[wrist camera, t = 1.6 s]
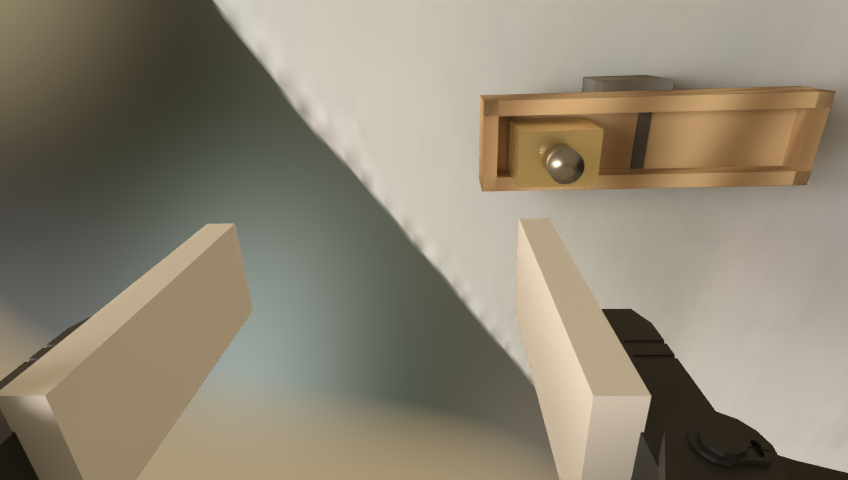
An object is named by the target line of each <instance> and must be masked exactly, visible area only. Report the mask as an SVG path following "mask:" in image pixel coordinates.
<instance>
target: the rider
mask: <svg viewBox="0 0 848 480" xmlns="http://www.w3.org/2000/svg"><path fill="white" fill-rule="evenodd" d="M603 132H604V129H602V128H600V127H598V126H597V125H595V124H593V123H592V122H590V121H588V120H586V119H585V118H583V117H581V116H578V117H540V118H509V127H508V152H507V168H508V170H509V172H510V174H511V176H512V179H513V181H514V183H515V185H516V187H566V186H597V182H598V173H599V165H600V157H601V149H602V140H603Z"/></svg>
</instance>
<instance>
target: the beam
mask: <svg viewBox="0 0 848 480" xmlns="http://www.w3.org/2000/svg"><path fill="white" fill-rule="evenodd" d="M673 85H674V81H673V80H668V79H663V78H658V77H653V76H648V75H636V76H603V77H584V78H583V89H582V92H580V93H545V94H511V95H480V143H479V180H480V184H481V188H482V191H526V190H577V189H629V188H680V187H732V186H783V185H807V183H808V180H809V176H810V173H811V170H812V167H813V163H814V160H815V157H816V154H817V150H818V147H819V144H820V141H821V137H822V134H823V131H824V128H825V124H826V121H827V118H828V115H829V111H830V108H831V105H832V102H833V98H834V95H835V92H836V91H829V90H822V89H815V88H808V87H801V86H788V87H754V88H719V89H684V90H673ZM578 116H581V117H583V118H585V119H586V120H588V121H590V122H592V123H593V124H595V125H597V126H598V127H600V128H602V129H604V132H603V140H602V149H601V157H600V165H599V173H598V182H597V186H566V187H516V185H515V183H514V181H513V179H512V176H511V174H510V172H509V170H508V168H507V152H508V127H509V118H540V117H578Z"/></svg>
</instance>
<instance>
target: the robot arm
mask: <svg viewBox="0 0 848 480" xmlns="http://www.w3.org/2000/svg"><path fill="white" fill-rule="evenodd" d="M514 308H515V312H516V316H517V320H518V324H519V327H520V331H521V335H522V339H523V343H524V346H525V350H526V354H527V358H528V361H529V365H530V369H531V373H532V377H533V380H534V384H535V388H536V392H537V395H538V399H539V403H540V407H541V411H542V414H543V418H544V422H545V426H546V429H547V433H548V437H549V441H550V445H551V449H552V452H553V456H554V460H555V464H556V467H557V471H558V475H559V479H560V480H848V473H845V472H841V471H837V470H833V469H829V468H824V467H820V466H816V465H812V464H808V463H804V462H799V461H795V460H792V459H789V458H785V457H782V456H779V455H778V454H777V453H776V451H775V449H774V447H773V446H772V445H771V444H770V443H769V442H768V441H767V440H766V439H765V438H764V437H763V436H762V435H761V434H760V433H758V432H757V431H756V430H754V429H753V428H751V427H749V426H748V425H746V424H744V423H743V422H741V421H739V420H738V419H735V418H733V417H730V416H727V415H724V414H721V413H718V412H716V411H715V410H714V408H713V407H712V406H711V404H710V403H709V401H708V400H707V399H706V397H705V396H704V395H703V393H702V392H701V390H700V389H699V388H698V386H697V385H696V384H695V382H694V381H693V379H692V378H691V377H690V375H689V374H688V373H687V371H686V370H685V368H684V367H683V366H682V364H681V363H680V362H679V360H678V359H677V358H675V357H674V353H673V352H672V351H671V349H670V348H669V346H668V345H667V344H664V340H663V338H662V337H661V335H660V334H659V333H658V331H657V330H656V329H655V327H654V326H653V324H652V323H651V322H649V321H648V320H646V319H645V318H643V317H642V316H640V315H639V314H637V313H636V312H635V311H633V310H632V309H601V308H600V306H599V305H598V303H597V301H596V300H595V298H594V296H593V294H592V293H591V291H590V289H589V287H588V286H587V284H586V282H585V281H584V279H583V277H582V275H581V274H580V272H579V270H578V269H577V267H576V265H575V263H574V262H573V260H572V258H571V256H570V255H569V253H568V251H567V250H566V248H565V246H564V244H563V243H562V241H561V239H560V237H559V236H558V234H557V232H556V231H555V229H554V227H553V225H552V224H551V222H550V220H549V218H542V219H519V232H518V251H517V270H516V288H515V307H514ZM252 311H253V309H252V304H251V299H250V294H249V289H248V284H247V280H246V275H245V270H244V265H243V261H242V256H241V251H240V246H239V241H238V236H237V232H236V227H235V224H207V225H206V226H204V227H203V228H202V229H201V230H199V231H198V232H197V233H196V234H194V235H193V236H192V237H191V238H189V239H188V240H187V241H186V242H184V243H183V244H182V245H181V246H179V247H178V248H177V249H176V250H174V251H173V252H172V253H171V254H169V255H168V256H167V257H166V258H164V259H163V260H162V261H161V262H159V263H158V264H157V265H156V266H154V267H153V268H152V269H151V270H149V271H148V272H147V273H146V274H144V275H143V276H142V277H141V278H139V279H138V280H137V281H136V282H134V283H133V284H132V285H131V286H130V287H128V288H127V289H126V290H125V291H123V292H122V293H121V294H120V295H118V296H117V297H116V298H115V299H113V300H112V301H111V302H110V303H108V304H107V305H106V306H105V307H103V308H102V309H101V310H100V311H98V312H97V313H96V314H95V315H93V316H91V317H89V318H87V319H85V320H83V321H81V322H80V323H78V324H76V325H74V326H72V327H70V328H68V329H67V330H65V331H64V332H63V333H61V334H60V335H59V336H58V337H56V338H55V339H54V340H52V341H51V342H50V343H49V344H47V348H42V349H41V350H40V351H38V352H37V353H36V354H35V355H33V356H32V357H31V358H30V360H29V362H24V363H23V364H22V365H21V366H19V367H18V368H17V369H15V370H14V371H13V372H12V373H10V374H9V375H8V376H7V377H5V378H4V379H3V380H2V381H0V480H136V479H137V478H138V476H139V475H140V473H141V472H142V470H143V469H144V467H145V466H146V465H147V463H148V462H149V460H150V459H151V457H152V456H153V454H154V453H155V451H156V450H157V449H158V447H159V446H160V444H161V443H162V441H163V440H164V438H165V437H166V436H167V434H168V433H169V431H170V429H171V428H172V427H173V425H174V424H175V423H176V421H177V420H178V418H179V417H180V415H181V414H182V412H183V411H184V409H185V408H186V407H187V405H188V404H189V402H190V401H191V399H192V398H193V396H194V395H195V394H196V392H197V390H198V389H199V388H200V386H201V385H202V383H203V382H204V380H205V379H206V377H207V376H208V375H209V373H210V372H211V370H212V369H213V367H214V366H215V365H216V363H217V362H218V360H219V359H220V357H221V356H222V354H223V353H224V351H225V350H226V348H227V347H228V346H229V344H230V343H231V341H232V340H233V338H234V337H235V336H236V334H237V333H238V331H239V330H240V328H241V327H242V325H243V324H244V322H245V321H246V319H247V318H248V317H249V315H250V313H251V312H252Z"/></svg>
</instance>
